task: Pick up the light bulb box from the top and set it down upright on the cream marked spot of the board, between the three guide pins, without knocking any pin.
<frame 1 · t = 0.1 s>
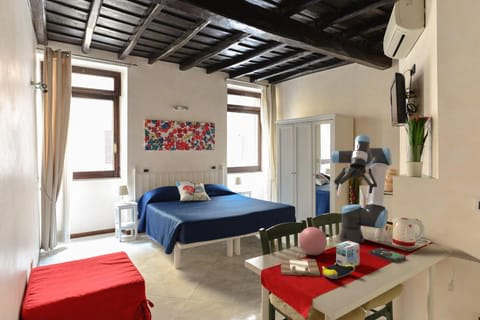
hand: (352, 197, 135), 36 cm above the table, tool tilted 35°, fingers open, 13 cm apart
light bulb box: (347, 265, 142), on the table
balloon: (315, 253, 158), on the table
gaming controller: (337, 277, 129), on the table
disk drive: (387, 258, 153), on the table
pin board: (299, 267, 139), on the table
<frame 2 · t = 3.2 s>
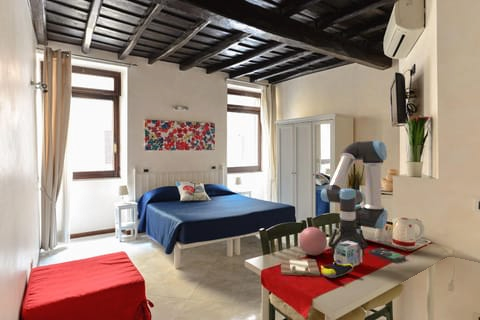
hand: (347, 260, 142), 2 cm above the table, tool pointing down, fingers closed on light bulb box, 12 cm apart
light bulb box: (347, 264, 142), on the table, touching gripper
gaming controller: (335, 276, 129), on the table
everything else where it was.
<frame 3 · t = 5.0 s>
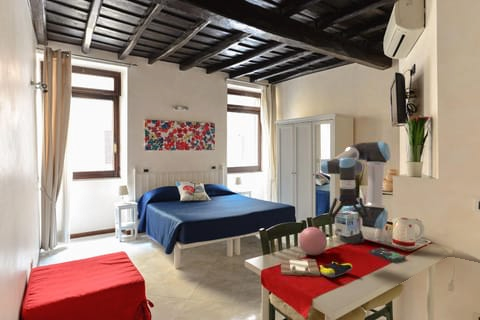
hand: (347, 229, 142), 18 cm above the table, tool pointing down, fingers closed on light bulb box, 12 cm apart
light bulb box: (348, 234, 142), point 16 cm above the table, touching gripper
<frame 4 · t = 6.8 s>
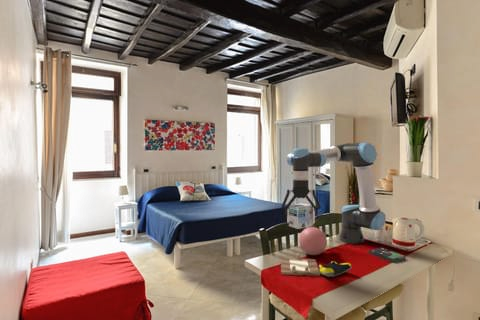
hand: (300, 222, 138), 23 cm above the table, tool pointing down, fingers closed on light bulb box, 12 cm apart
light bulb box: (300, 226, 138), point 21 cm above the table, touching gripper
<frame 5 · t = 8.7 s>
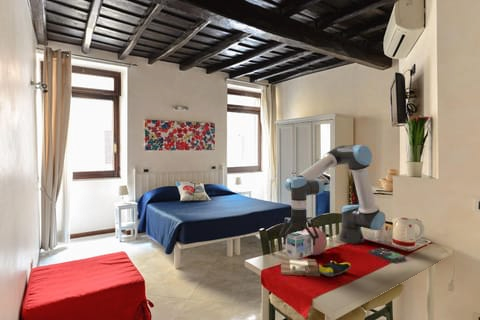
hand: (299, 251, 139), 8 cm above the table, tool pointing down, fingers closed on light bulb box, 12 cm apart
light bulb box: (299, 255, 139), point 6 cm above the table, touching gripper
when the fingers open (4 cm above the table, at t = 10.5 s): light bulb box drops 1 cm, resting on pin board.
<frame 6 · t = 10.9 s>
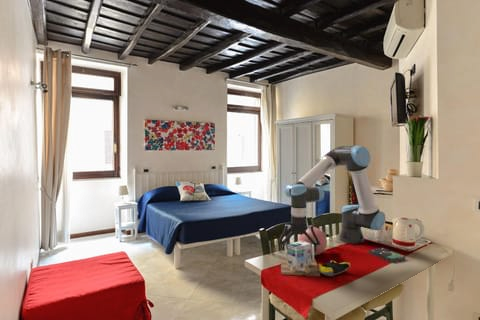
hand: (299, 257, 139), 5 cm above the table, tool pointing down, fingers open, 13 cm apart
light bulb box: (299, 265, 139), point 1 cm above the table, touching pin board
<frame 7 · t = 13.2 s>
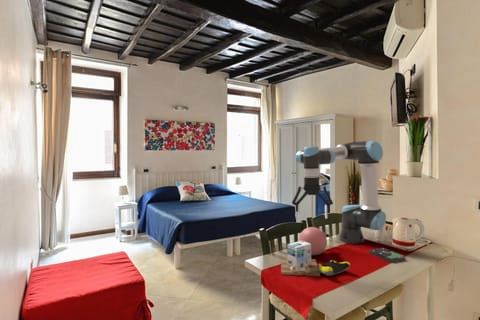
hand: (312, 218, 142), 24 cm above the table, tool pointing down, fingers open, 13 cm apart
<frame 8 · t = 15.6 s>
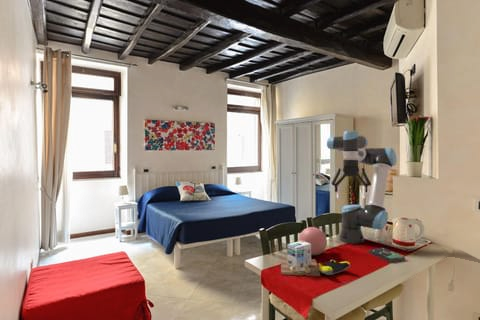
hand: (350, 198, 151), 33 cm above the table, tool pointing down, fingers open, 13 cm apart
at the end: light bulb box 0.1 cm off-centre on the pin board, point 1.1 cm above the pin board's base; light bulb box tilted 0°; the gripper is holding nothing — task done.
